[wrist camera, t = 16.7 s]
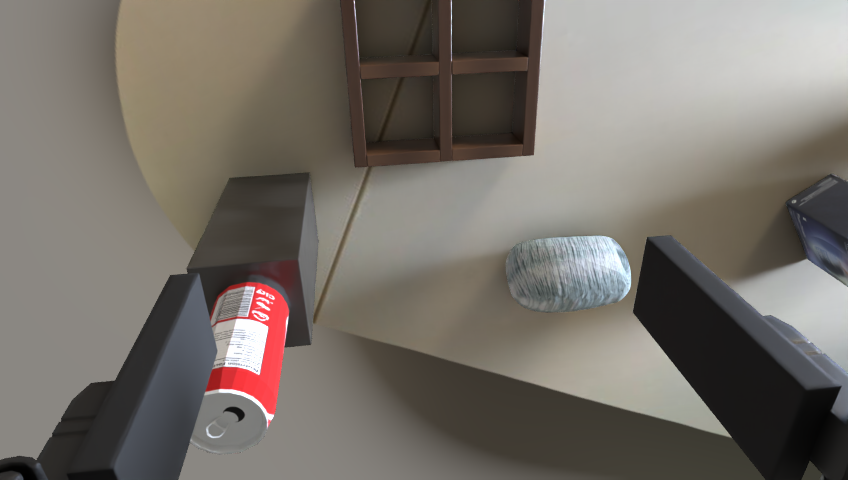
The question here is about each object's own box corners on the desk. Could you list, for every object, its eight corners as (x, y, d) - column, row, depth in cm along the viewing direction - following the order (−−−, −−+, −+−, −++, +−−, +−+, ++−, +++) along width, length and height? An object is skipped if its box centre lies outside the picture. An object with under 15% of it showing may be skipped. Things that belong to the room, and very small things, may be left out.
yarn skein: (641, 219, 61) (648, 298, 55) (612, 267, 69) (617, 340, 63) (516, 201, 62) (511, 277, 56) (502, 250, 69) (496, 321, 64)
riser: (243, 247, 60) (208, 355, 44) (229, 177, 56) (186, 268, 40) (318, 241, 61) (311, 345, 45) (309, 172, 57) (298, 258, 41)
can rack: (353, 154, 57) (354, 167, 53) (337, -40, 49) (336, -39, 45) (522, 142, 59) (534, 155, 55) (533, -46, 50) (548, -45, 47)
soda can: (250, 350, 44) (222, 475, 34) (198, 306, 42) (150, 426, 31) (304, 312, 43) (292, 429, 33) (254, 265, 41) (224, 375, 30)
